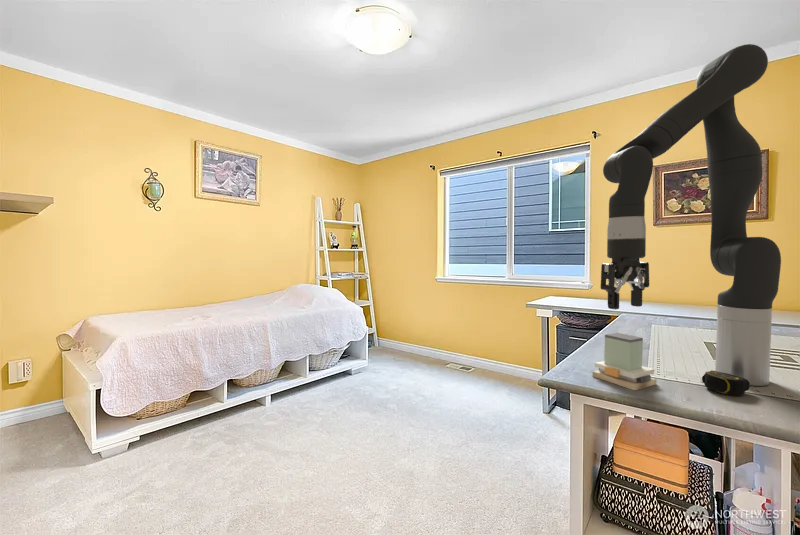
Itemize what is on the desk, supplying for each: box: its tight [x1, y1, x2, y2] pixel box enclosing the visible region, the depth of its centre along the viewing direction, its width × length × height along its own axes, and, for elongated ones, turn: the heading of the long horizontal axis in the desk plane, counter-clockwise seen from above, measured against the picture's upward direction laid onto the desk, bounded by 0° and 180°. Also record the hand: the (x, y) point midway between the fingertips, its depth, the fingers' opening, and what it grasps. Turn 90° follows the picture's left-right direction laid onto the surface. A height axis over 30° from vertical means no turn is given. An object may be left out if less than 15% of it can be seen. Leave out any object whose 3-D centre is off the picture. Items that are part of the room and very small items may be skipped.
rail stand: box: [592, 369, 658, 391], centre depth 85 cm, size 8×10×2 cm
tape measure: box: [701, 369, 751, 396], centre depth 78 cm, size 7×7×4 cm
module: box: [603, 332, 644, 371], centre depth 84 cm, size 5×6×7 cm
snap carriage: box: [594, 360, 655, 382], centre depth 84 cm, size 8×9×2 cm
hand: (625, 307), depth 84 cm, fingers open, 8 cm apart
